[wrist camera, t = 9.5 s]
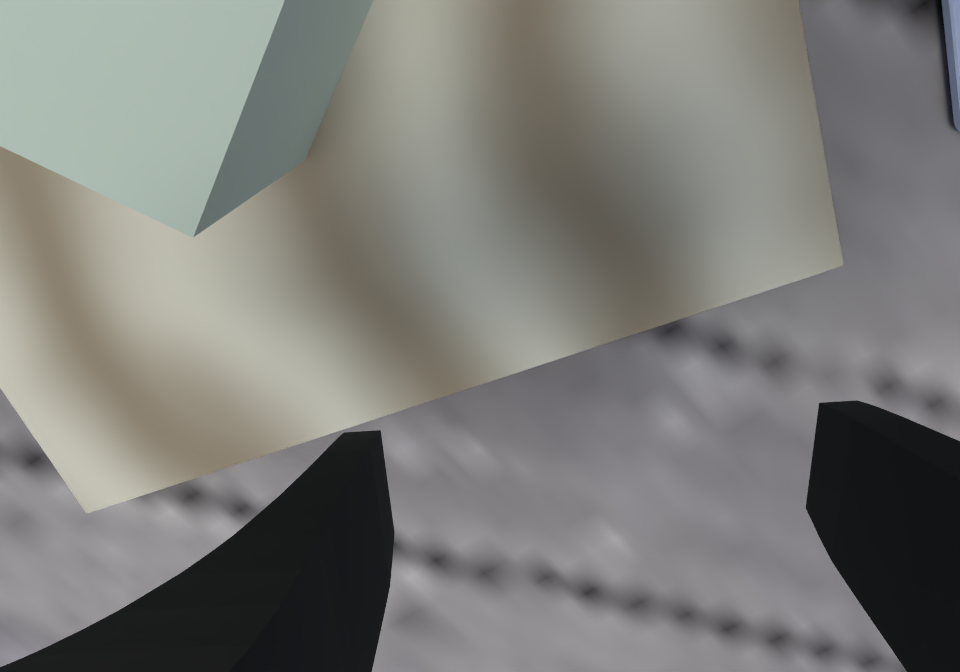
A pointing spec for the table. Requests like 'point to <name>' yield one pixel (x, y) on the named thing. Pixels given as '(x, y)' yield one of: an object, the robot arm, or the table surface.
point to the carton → (171, 95)
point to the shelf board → (421, 233)
